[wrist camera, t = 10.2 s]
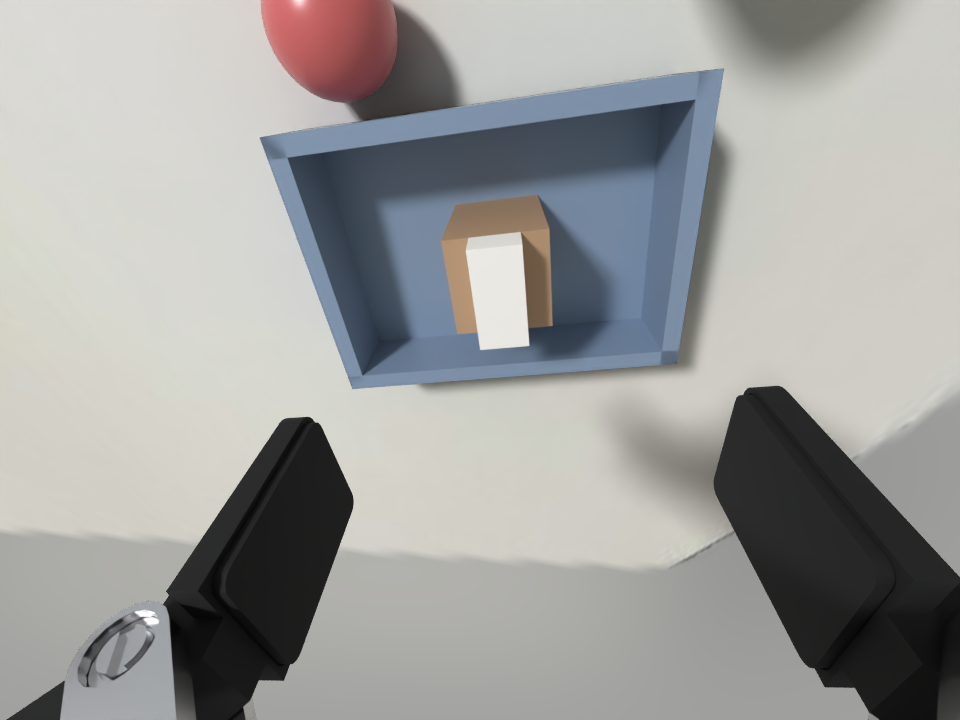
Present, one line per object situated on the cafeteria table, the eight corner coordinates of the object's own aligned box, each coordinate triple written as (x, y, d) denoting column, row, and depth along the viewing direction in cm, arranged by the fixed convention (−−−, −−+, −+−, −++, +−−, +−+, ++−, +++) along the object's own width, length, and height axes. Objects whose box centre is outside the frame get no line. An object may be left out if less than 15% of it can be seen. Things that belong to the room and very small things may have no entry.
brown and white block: (540, 272, 27) (556, 343, 20) (467, 280, 28) (454, 352, 20) (537, 194, 25) (553, 240, 17) (455, 204, 25) (435, 253, 17)
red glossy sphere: (393, -54, 20) (357, -103, 15) (419, 93, 23) (396, 93, 18) (277, -31, 20) (204, -72, 15) (318, 108, 24) (268, 113, 19)
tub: (677, 73, 22) (723, 68, 17) (649, 322, 30) (676, 363, 26) (305, 129, 24) (259, 137, 20) (373, 347, 32) (352, 389, 28)
